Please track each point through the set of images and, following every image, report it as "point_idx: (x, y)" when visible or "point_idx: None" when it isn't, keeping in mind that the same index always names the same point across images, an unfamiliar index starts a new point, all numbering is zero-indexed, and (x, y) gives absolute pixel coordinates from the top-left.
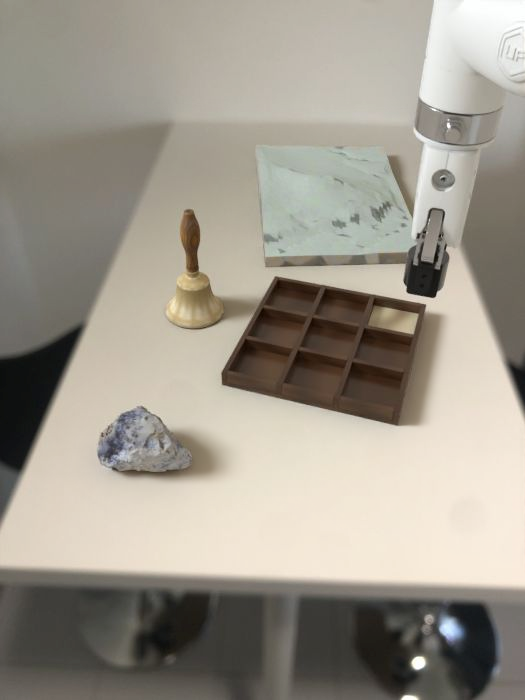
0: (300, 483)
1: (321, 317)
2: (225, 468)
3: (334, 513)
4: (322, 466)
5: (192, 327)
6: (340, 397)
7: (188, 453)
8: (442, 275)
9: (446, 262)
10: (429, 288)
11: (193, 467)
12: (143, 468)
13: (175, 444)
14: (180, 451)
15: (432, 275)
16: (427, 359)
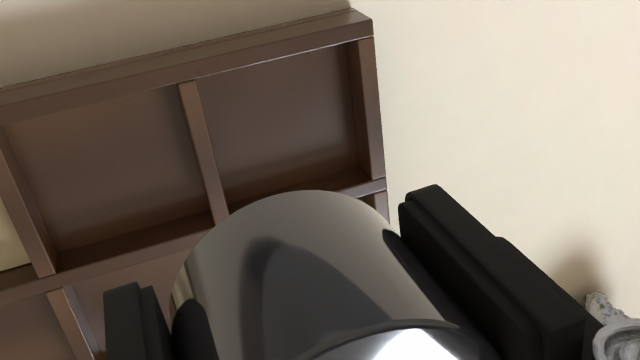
0: (573, 120)
1: None
2: (570, 244)
3: (625, 27)
4: (525, 105)
5: None
6: (377, 177)
7: (599, 309)
8: (391, 257)
9: (421, 324)
10: (515, 251)
11: (579, 283)
12: None
13: None
14: None
15: (585, 312)
16: (8, 35)
